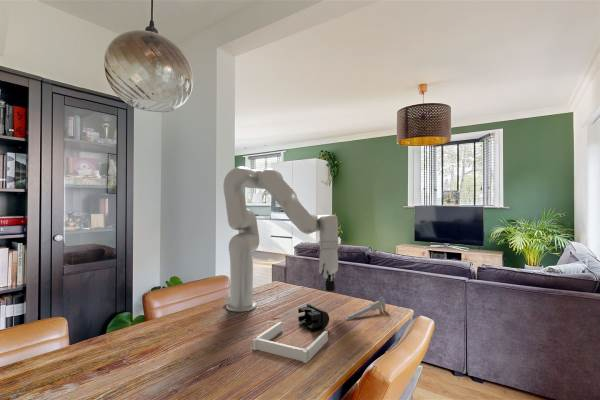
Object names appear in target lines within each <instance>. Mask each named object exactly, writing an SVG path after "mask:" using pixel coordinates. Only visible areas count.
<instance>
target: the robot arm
mask: <svg viewBox="0 0 600 400" xmlns="http://www.w3.org/2000/svg"><path fill="white" fill-rule="evenodd" d="M283 177H284V176H283V175H282V173H281V172H279V171H278V170H275V169H273V168H265V169H263V170H261V169H260V170H259V169H252V168H249V167H246V166H236V167H233V168H232V169H231V170H229V171H228V173H227V174H226V175H225V177H224V179H223V194H224V199H225V208H226V215H227V222H228V225H229V227H230V228H231V229H232V230H234V231H238V233H237V234H235V235H233V236H232V237H230V240H229V242H228V252H229V261H230V262H229V263H230V277H229V278H230V279H229V280H230V281H229V282H230V283H229V285H230V286H229V287H230V288H229V289H230V290H229V292H230V293H229V294H226V295H224V298H223V301H226V302H227V304H226V309H227V311H230V312H237V313H238V312H239V313H240V312H242V313H243V312H248V311H251V310H255V309H256V307H257V302H256V301H254V295H253V294H254V292H253V291H254V283H253V282H254V280H253V279H254V264H253V262H254V261H253V256H252V253H253V252H255V251H256V250H257V249H258V247H259V246H260V234H259V228H258V227H259V226H258V221H257V217H256V214H255V213H254V211H252V209H250V208H247V203H246V202H247V201H246V197H245V193H244V191H243V190H244V188H247V189H257V190H258V189H261V190H265V191H266V192H267V193H268V194H269V195H270V196H271V198H273V200H274V201H275V202H276V204H278V205H279V206H280V208H281V209H282V211H283V213H284V214H285V216H287V218H288V220H289V221H290V222H291V223H292V224H293V225H294V226H295V227H296V228H297V229H298V230H299V231H300V232H301V233H303V234H304V235H310V234H313V233H317V232H319V257H318V259H319V261H318V262H319V264H318V265H319V266H318V267H319V268H318V272H319V275H323V276H322V277H323V279H325V291H326V292H334V291H335V289H336V287H335V284H336V283H335V277H336V276H335V275H336V273H337V272H338V270H339V256H338V254H339V253H338V249H339V225H338V224H339V222H338V221H339V220H338V216H337V215H336V214H322V215H318V214H310V213H309V211H308V210H307V208H305V207H304V206H303V205H302V203H301V202H300V200H299V199H298V197H297V193H296V192H295V190H294V189H293V188H292V187H291V186H290V185H289V184H288V183H287V182H286V181H285V180H284V178H283Z"/></svg>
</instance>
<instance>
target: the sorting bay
mask: <svg viewBox="0 0 600 400" xmlns="http://www.w3.org/2000/svg"><path fill="white" fill-rule="evenodd" d="M282 332H283V322H282V321H279V322H277V323H275V324H274V325H271V327H269V328H268V329H266V330H265V331H263V332H262V333H261V334H259V335H258V336H255V337H254V338H253V339H252V350H254V351H256V350H257V351H262V352H264V353H269V354H274V355H277V356H280V357H285V358H287V359H288V358H289V359H292V360H296V361H300V362H302V363H303V364H304V363H305V364H307V363H308V362H309V361H310V360H311V359H312V358H313V357H314V356H315V355H316V354H317V353H318V352H319V350H320V349H322V347H323V346H325V345H326V343H327V342H328V341H329V331H328V330H324V331H323V332H322V333H321V334H320V335H319V336H318V337H316V339H314V340H313V342H311V343H310V344H309V345H308V346H307V347H306V348H303V347H297V346H293V345H289V344H285V343H280V342H276V341H272V339H274V337H276V336H277V335H279V334H280V333H282Z"/></svg>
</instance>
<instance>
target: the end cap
mask: <svg viewBox="0 0 600 400" xmlns="http://www.w3.org/2000/svg"><path fill="white" fill-rule="evenodd" d="M297 310H298V311H297V312H298V314H300V313H304V314H302V315H298V316H297V317H298V318H297V320H298V326H300V327H302V328H303V329H305V330H306V331H308V332H310V333H312V334H313V333H317V332H322V331H323V330H324V329H326V327H328V325H329V322H330V315H329V314H328V312H327V311H326V310H323V309H320V307H319V308H318V307H316V306H314V305H312V304H310V303H306V306H305V307H304V306H303V307H298V309H297Z"/></svg>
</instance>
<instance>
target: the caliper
mask: <svg viewBox="0 0 600 400" xmlns="http://www.w3.org/2000/svg"><path fill="white" fill-rule="evenodd" d="M377 310H379V312H380V313H383V312H386V300H385V298H384V297H383V296H380V297H378V300H376V301H375V302H372V303H371V304H370V305H368V306H366V307H364V308H361V309H360V310H357V311H355V312H353V313H351V314H349V315H347V317H346V318H345V321H350V320H354V319H355V318H358V317H360V316H362V315H364V314H366V313H368V312H371V311H372V312H374V311H377Z"/></svg>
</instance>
